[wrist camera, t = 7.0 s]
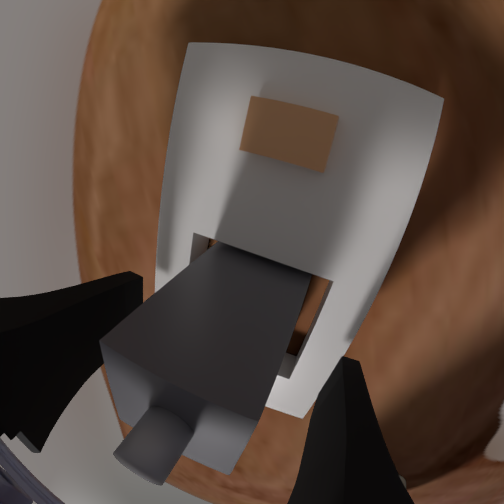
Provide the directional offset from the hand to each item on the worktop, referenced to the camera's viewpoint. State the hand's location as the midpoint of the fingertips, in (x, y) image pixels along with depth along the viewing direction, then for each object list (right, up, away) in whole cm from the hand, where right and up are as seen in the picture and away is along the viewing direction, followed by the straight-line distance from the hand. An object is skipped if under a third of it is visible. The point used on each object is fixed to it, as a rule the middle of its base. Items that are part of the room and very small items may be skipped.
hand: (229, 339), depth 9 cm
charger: (+1, +2, +2) cm, 3 cm away
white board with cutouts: (+1, +3, +2) cm, 4 cm away
